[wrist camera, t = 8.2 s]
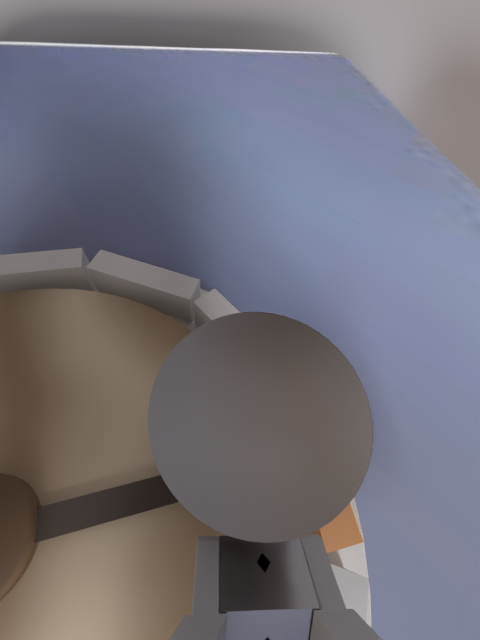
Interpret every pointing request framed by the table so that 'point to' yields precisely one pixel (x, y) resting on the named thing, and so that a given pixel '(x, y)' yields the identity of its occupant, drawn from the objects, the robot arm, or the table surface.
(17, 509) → the dial
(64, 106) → the table surface
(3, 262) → the dial base
